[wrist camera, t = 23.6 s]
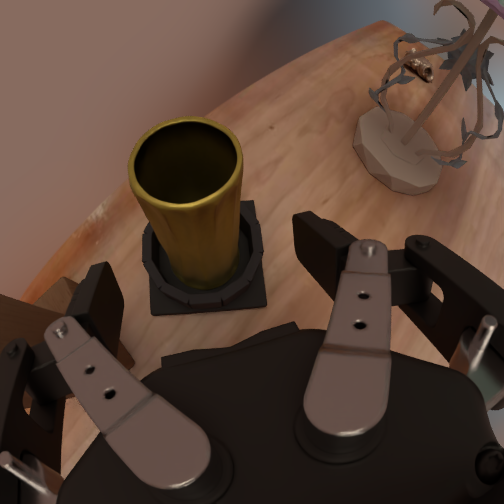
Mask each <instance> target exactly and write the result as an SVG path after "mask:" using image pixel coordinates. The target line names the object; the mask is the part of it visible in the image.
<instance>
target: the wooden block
mask: <svg viewBox="0 0 504 504" xmlns="http://www.w3.org/2000/svg"><path fill="white" fill-rule="evenodd" d="M78 285H79V284H78V283H76V282H74V281H72V280H70V279H68V278H66V277H62V278H60V279H59V280H58V281H57V282H56V283H55V284H54V285H53V286H52V287H50V288H49V289H48V290H47V291H46V292H45V293H44V294H43V295H42V296H41V297H40V298H39V299H38V300H37V301H36V302H35V303H34V304H33V305H32V304H29V303H25V302H22V301H19V300H16V299H13V298H10V297H7V296H5V295H2V294H0V354H1V352H2V350H3V349H4V347H5V346H6V345H7V344H8V343H9V342H11V341H12V340H14V339H17V338H24V339H25V340H26V341H27V343H28V344H29V345H30V347H32V346H34V345H36V344H39V343H41V342H43V341H45V339H44V333H45V331H46V329H47V328H48V327H49V325H50V324H52V323H53V322H54V321H56V320H57V319H59V318H62V317H64V316H65V313H66V310H67V308H68V306H69V303H70V302H71V298H72V296H73V294H74V291H75V289H76V287H77V286H78ZM117 360H118V361H119V362H120V363H121V364H122V365H123V366H124V367H125V368H126V369H127V370H129V369H130V368H132V367H133V365H134V360H133V359H132V358H131V356H130V355H129V353H128V352H127V351H126V349H125V348H124V346H123V345H122V344H121V342H120V341H119V346H118V354H117ZM72 397H76V396H75V395H74V393H71V394H69V395H66V399H68V398H72ZM31 404H32V398H31V397H30V395H29V394H28V393H27V392H26V391H25V392H24V396H23V406H24V409H26V408H31Z"/></svg>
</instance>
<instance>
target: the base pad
mask: <svg viewBox="0 0 504 504" xmlns="http://www.w3.org/2000/svg"><path fill="white" fill-rule="evenodd" d="M144 233H145V234H143V237H142V262H143V263H144V264H143V265H144V267H145V269H146V270H147V272H148V274H149V284H150V310H151V315H153V316H160V315H177V314H192V313H206V312H218V311H230V310H240V309H251V308H260V307H266V306H267V300H266V292H265V284H264V276H263V268H262V260H261V259H262V256H263V252H264V250H263V243H262V235H261V228H260V224H259V221H258V220H257V219H256V213H255V206H254V200H250V201H240V223H239V240H238V247H239V264H238V267H237V269H236V271H235V273H234V275H233V276H232V277H231V278H230V279H229V280H228V281H227V282H226V283H225V284H223V285H221V286H219V287H217V288H214V289H210V290H199V289H195V288H191V287H189V286H187V285H185V284H184V283H183V282H181V281H180V280H179V279H178V278H177V277H176V275H175V274H174V273H173V270H172V267H171V264H170V260H169V257H168V255H167V253H166V251H165V250H164V248H163V247H162V245H161V244H160V242H159V240H158V238H157V236H156V234H155V232H154V230H153V228H152V226H151V224H150V222H149V223H148V224H147V226H146V228H145V230H144Z"/></svg>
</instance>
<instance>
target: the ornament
mask: <svg viewBox="0 0 504 504" xmlns="http://www.w3.org/2000/svg"><path fill="white" fill-rule="evenodd" d="M414 52H416V49H412V50H410V51H406V53H405V56H407V55H409V54H410V53H414ZM405 64H407V65H408V66H411V67H412V68H413V69H414V70H416V69H417V72H418V74H419V75H420V76H421V77H422V78H424V79H426V80H427V81H428V82H430V81H432V79H433V76H434V72H433V68H432V67H433V66H432V64H431V63H430V62H429V60H427V59H426V58H425V57H420V58H416V59H412V60H408V61H407V62H405ZM425 73H426V74H425Z"/></svg>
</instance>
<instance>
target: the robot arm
mask: <svg viewBox="0 0 504 504" xmlns="http://www.w3.org/2000/svg"><path fill="white" fill-rule="evenodd" d="M292 223H293V234H294V246H295V252H296V255H297V258H298V260H299V261H300V263H301V264H302V265H303V266H304V267H305V268H306V269H307V271H308V272H309V273H310V274H311V275H312V276H313V278H314V279H315V280H316V281H317V282H318V283H319V285H320V286H321V287H322V288H323V289H324V290H325V292H326V293H327V294H328V295H329V296H330V297H331V299H332V300H333V301H334V305H333V309H332V313H331V317H330V321H329V324H328V328H327V330H321V329H302V330H299V328H298V326H297V325H296V323H295V322H294V321H293V322H290V323H287V324H283V325H280V326H277V327H274V328H271V329H267V330H264V331H261V332H259V333H257V334H255V335H253V336H251V337H249V338H247V339H245V340H243V341H241V342H239V343H237V344H235V345H233V346H231V347H226V348H212V349H196V350H190V351H186V352H182V353H177V354H173V355H169V356H164V357H161V365H162V367H161V368H159V369H157V370H155V371H153V372H152V373H150V374H149V375H147V376H146V377H144V378H143V379H142V380H141V381H139V380H138V379H137V378H136V377H135V376H134V375H132V374H131V373H130V372H129V371H128V370H127V369H126V368H125V367H124V366H123V365H122V364H121V363H120V362H119V361H118V360H117V354H118V346H119V338H120V331H121V324H122V317H123V310H124V299H123V295H122V292H121V290H120V288H119V285H118V283H117V281H116V278H115V276H114V273H113V271H112V268H111V266H110V264H109V263H108V262H107V261H106V262H102V263H99V264H95V265H91V267H90V269H89V271H88V273H87V276H86V278H85V279H83V280H82V281H81V282H80V283H79V285H78V286H77V287H76V289H75V291H74V294H73V296H72V298H71V302H70V303H69V306H68V308H67V310H66V313H65V316H64V317H62V318H59V319H57V320H56V321H54V322H53V323H52V324H50V325H49V327H48V328H47V329H46V331H45V333H44V339H45V341H43V342H41V343H39V344H36V345H34V346H32V347H30V345H29V344H28V343H27V341H26V340H25V339H24V338H17V339H14V340H12V341H11V342H9V343H8V344H7V345H6V346H5V347H4V349H3V350H2V352H1V354H0V504H504V448H502V446H500V444H499V443H498V441H497V439H496V437H495V435H494V433H493V430H492V428H491V425H490V422H489V418H488V415H487V412H488V411H489V410H499V409H502V408H504V289H502V288H501V287H500V286H499V285H497V284H496V283H495V282H493V281H492V280H491V279H490V278H488V277H487V276H486V275H484V274H483V273H482V272H480V271H479V270H478V269H476V268H475V267H474V266H472V265H471V264H470V263H468V262H467V261H465V260H464V259H463V258H461V257H460V256H458V255H457V254H456V253H454V252H453V251H451V250H450V249H448V248H447V247H445V246H444V245H442V244H441V243H439V242H438V241H436V240H435V239H433V238H431V237H428V236H424V235H412V236H409V237H408V238H406V240H405V248H404V249H400V250H389V251H388V250H387V247H386V245H385V244H383V243H381V242H379V241H376V240H371V239H363V240H358V239H357V238H355V237H354V236H353V235H351V234H350V233H349V232H347V231H345V230H344V229H343V228H342V227H340V226H339V225H337V224H336V223H334V222H333V221H329V220H326V219H321V218H320V217H318V216H317V215H316V214H314V213H313V212H311V211H306V212H302V213H297V214H294V215H293V217H292ZM433 281H434V282H435V283H436V284H437V285H438V286H439V287H440V288H441V289H442V291H443V295H444V300H443V303H442V302H441V301H440V300H439V299H438V298H437V297H436V296H434V295H433V294H432V293H431V288H432V283H433ZM397 305H398V306H399V308H400V309H401V310H402V311H403V312H404V313H405V314H406V315H407V316H408V317H409V318H410V320H411V321H412V322H413V323H414V324H415V325H416V326H417V327H418V328H419V329H420V330H421V332H422V333H423V334H424V335H425V336H426V337H427V338H428V339H429V341H430V342H431V343H432V344H433V345H434V346H435V347H436V349H437V350H438V351H439V352H440V353H441V354H442V355H443V357H444V358H445V359H446V360H447V361H448V362H449V368H448V367H445V366H441V365H437V364H434V363H431V362H427V361H424V360H420V359H417V358H414V357H410V356H407V355H404V354H400V353H397V352H394V351H391V350H390V339H391V306H397ZM25 391H26V392H27V393H28V394H29V395H30V397H31V398H32V404H31V409H30V414H29V415H28V414H27V413H26V411H25V409H24V406H23V396H24V392H25ZM71 393H74V395H75V396H76V398H77V399H78V401H79V402H80V404H81V405H82V407H83V408H84V409H85V411H86V412H87V414H88V415H89V416H90V418H91V419H92V421H93V422H94V423H95V425H96V426H97V427H98V429H99V430H100V433H99V434H98V435H97V437H96V438H95V439H94V441H93V442H92V443H91V445H90V446H89V448H88V449H87V450H86V452H85V453H84V454H83V456H82V457H81V458H80V460H79V461H78V462H77V464H76V465H75V466H74V468H73V469H72V470H71V472H70V473H69V475H68V476H67V477H66V479H65V480H64V479H63V477H62V476H61V446H62V431H63V419H64V410H65V401H66V395H69V394H71Z"/></svg>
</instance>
